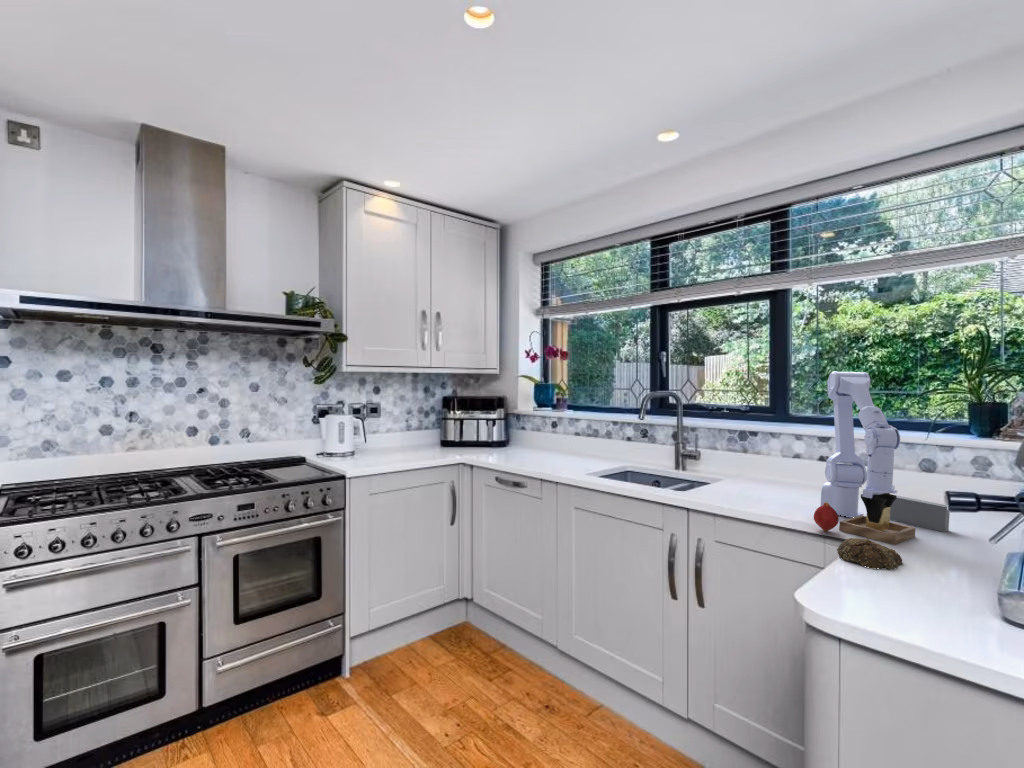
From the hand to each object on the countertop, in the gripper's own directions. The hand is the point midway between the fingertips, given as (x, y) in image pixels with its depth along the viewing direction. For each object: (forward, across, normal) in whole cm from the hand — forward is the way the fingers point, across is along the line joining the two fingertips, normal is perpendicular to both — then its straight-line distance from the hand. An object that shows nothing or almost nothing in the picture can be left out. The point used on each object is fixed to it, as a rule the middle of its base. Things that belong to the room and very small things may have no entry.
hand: (877, 521), depth 139 cm
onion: (+4, -11, +8) cm, 14 cm away
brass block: (+2, 0, 0) cm, 2 cm away
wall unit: (+3, +21, -2) cm, 21 cm away
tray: (+3, 0, 0) cm, 3 cm away
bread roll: (+4, -25, -8) cm, 26 cm away
